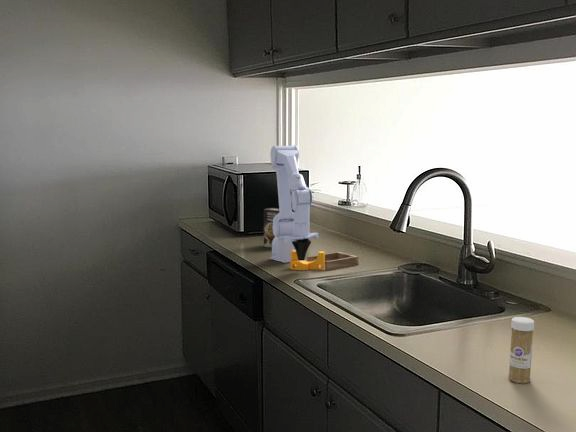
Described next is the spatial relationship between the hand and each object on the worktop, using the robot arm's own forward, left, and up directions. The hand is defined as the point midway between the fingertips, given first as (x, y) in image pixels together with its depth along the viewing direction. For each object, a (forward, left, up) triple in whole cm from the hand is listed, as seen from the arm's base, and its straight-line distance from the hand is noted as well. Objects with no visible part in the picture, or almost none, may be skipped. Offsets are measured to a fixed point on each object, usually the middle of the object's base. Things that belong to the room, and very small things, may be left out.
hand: (301, 260), depth 243 cm
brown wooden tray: (0, +16, -4) cm, 16 cm away
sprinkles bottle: (+107, -27, -4) cm, 110 cm away
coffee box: (-41, +19, -4) cm, 46 cm away
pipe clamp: (-1, +4, -4) cm, 6 cm away
